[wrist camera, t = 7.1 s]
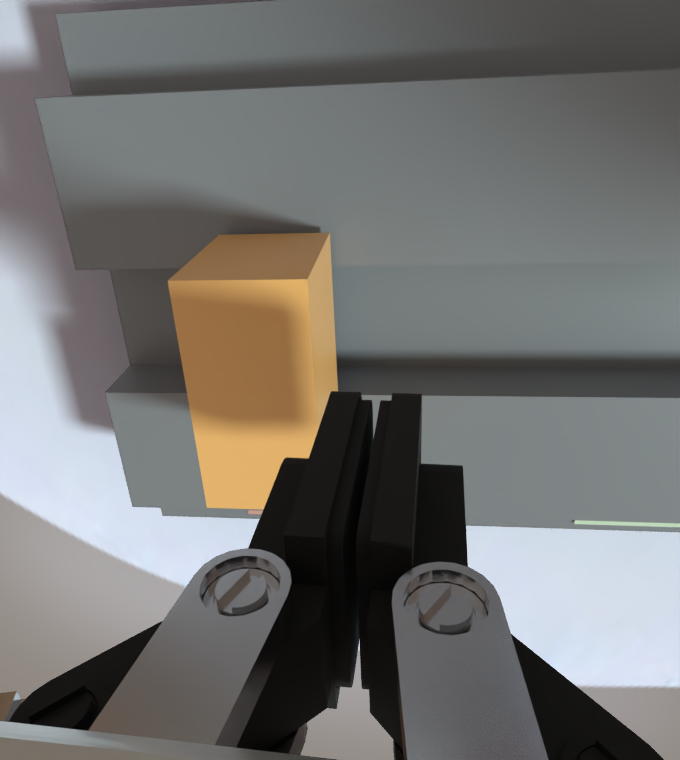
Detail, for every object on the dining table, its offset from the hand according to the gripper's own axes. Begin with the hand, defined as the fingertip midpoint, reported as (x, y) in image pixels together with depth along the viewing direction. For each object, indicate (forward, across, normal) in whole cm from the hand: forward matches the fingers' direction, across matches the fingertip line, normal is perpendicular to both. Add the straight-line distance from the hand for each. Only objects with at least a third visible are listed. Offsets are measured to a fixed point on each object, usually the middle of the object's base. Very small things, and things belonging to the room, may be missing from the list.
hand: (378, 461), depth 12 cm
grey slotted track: (+11, -2, 0) cm, 11 cm away
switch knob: (+8, +3, 0) cm, 9 cm away
